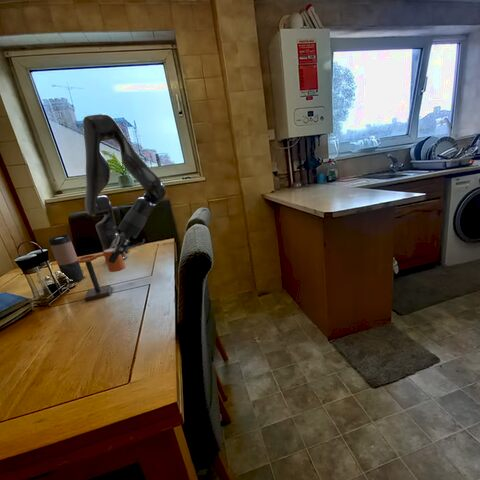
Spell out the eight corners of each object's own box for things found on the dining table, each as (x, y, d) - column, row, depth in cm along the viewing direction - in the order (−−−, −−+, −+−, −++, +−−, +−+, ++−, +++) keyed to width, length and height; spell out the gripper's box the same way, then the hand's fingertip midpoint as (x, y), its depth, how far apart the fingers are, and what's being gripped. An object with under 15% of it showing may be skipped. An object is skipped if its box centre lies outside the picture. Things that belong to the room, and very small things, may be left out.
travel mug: (88, 275, 129) (73, 234, 122) (76, 283, 122) (59, 239, 115) (73, 276, 130) (57, 235, 123) (60, 283, 123) (43, 240, 116)
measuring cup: (123, 265, 113) (117, 246, 110) (126, 268, 108) (120, 249, 105) (83, 276, 105) (75, 256, 102) (84, 280, 100) (77, 260, 98)
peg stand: (89, 293, 109) (77, 259, 104) (111, 287, 112) (100, 255, 107) (86, 301, 102) (72, 266, 97) (109, 295, 105) (98, 261, 100)
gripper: (120, 216, 112) (96, 252, 110) (128, 219, 101) (102, 260, 99) (137, 226, 117) (115, 260, 114) (146, 230, 105) (122, 269, 103)
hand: (109, 260), depth 107 cm, fingers closed on measuring cup, 6 cm apart
